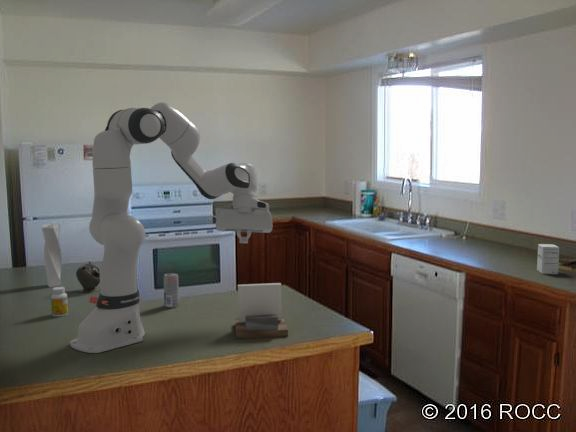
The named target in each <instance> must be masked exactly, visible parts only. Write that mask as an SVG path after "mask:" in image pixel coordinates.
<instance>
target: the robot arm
mask: <svg viewBox="0 0 576 432" xmlns="http://www.w3.org/2000/svg"><path fill="white" fill-rule="evenodd" d="M106 123H107V125H106V127H105V129H104V130H103V131H101V132H99V133H97V134H96V135H95V137H94V139H93V144H92V176H93V190H94V192H93V193H94V194H93V195H94V196H93V205H92V206H93V208H92V214H91V215H92V216H91V220H90V222H89V225H88V228H89V229H88V230H89V233H90V236H91V237H92V238H93V239H94V241H96V242H97V243H98V244H100V245H102V246H103V251H104V252H103V257H102V258H103V259H102V263H101V265H100V266H99V270H100V283H99V288H100V289H99V290H100V293H99V295H98V297H96V296H93V295H91V296H89V299H88V302H89V303H90V304H94V305H95V306H96V307H94V308H93V310H92V311H91V312H90V313H89V314H88V315H87V316H86V317H85V318H84V319H83V320H82V321H81V322H80V323H79V326H78V328H77V329H78V331H77V337H76V338H74V339H72V340H70V341H69V346H70V347H71V348H73V349H74V350H77V351H79V352H83V353H89V354H99V353H103V352H107V351H110V350H115V349H118V348H121V347H125V346H129V345H133V344H136V343H140V342H143V341H144V338H143V337H144V336H145V334H146V331H145V330H144V326H143V323H142V318H141V312H140V305H139V304H140V301H141V300H140V291H139V289H138V262H139V261H138V260H139V255H140V249H141V246H142V245H143V243H144V241H145V238H146V229H145V227H144V225H143V224H142V223H141V222H140V220H139V219H137V218H135V217H134V216H133V215H129V214H128V209H129V202H130V198H131V196H132V194H133V182H132V181H133V180H132V179H133V178H132V164H131V158H130V157H131V151H132V147H133V146H134V145H143V144H151V143H154V142H155V141H157V140H158V139H160V140H161V141H162V142H163V143H164V144H165V145H166V146H167V147H168V148H169V149H170V151H171V157H172V159H173V161H174V162H175V164H176V165H177V166H178V167H179V168H180V169H181V170H182V172H183V173H185V175H186V177H188V178H189V179H190V181H192V183H193V184H194V185H195V187H196V188H197V190H198V192H199V194H201V196H203V197H204V198H206V199H208V200H215V199H217V198H219V197H221V196H224V195H225V194H229V193H232V194H233V195H232V205H220V206H218V207H216V208H215V210H214V211H215V212H214V214H215V217H216V218H215V219H216V220H215V229H216V231H218V232H236V236H237V237H238V239H239V244H248V243H249V238H250V237H251V235H252V233H262V234H263V233H264V234H265V233H267V234H270V233H271V232H272V231H273V225H274V224H273V217H272V216H273V215H272V213H271V212H270V211H269V210H270V204H269V203H267V202H264V201H261V200H258V198H257V191H258V175H257V171H256V168H255V167H254V166H253V164H250V163H248V162H241V163H240V162H239V163H235V162H229V163H225V164H224V165H221V166H219V167H216V168H214V169H212V170H205V169H204V168H203V167H202V166H201V164H199V162H198V161H197V160H196V159H195V158H194V156H193V155H194V154H195V152H196V151H197V149H198V147H199V145H200V141H201V133H200V130H199V129H198V127H197V125H195V124H194V122H192V121H191V120H190V119H189V118H188V117H187V116H186V115H185V114H183V113H182V112H181V111H180V110H179V109H177V108H175V107H174V106H172V105H170V104H169V103H167V102H163V101H162V102H157V103H156V104H154V105H153V106H151V107H150V108H148V107H139V108H138V107H130V108H126V109H119V110H117V111H115V112H114V113H112V115H110V117H109V119H108V120H107V122H106ZM241 233H246V236H242V234H241Z"/></svg>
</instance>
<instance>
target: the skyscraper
mask: <svg viewBox="0 0 576 432" xmlns="http://www.w3.org/2000/svg"><path fill="white" fill-rule="evenodd" d="M55 224H58V226H57V225H55ZM60 231H61V224H60V223H59V222H58V221H52V222H51V223H50V224H44V225H42V226H41V232H42V235H43V239H44V246H43V247H44V248H43V251H44V252H43V256H44V257H43V258H44V268H45V273H46V278H47V283H46V285H47V286H48V287H49V288H55V287H63V283H62V280H61V278H62V277H61V276H62V265H63V263H62V261H63V259H62V258H63V256H62V250H61V245H60V242H59V239H60V238H59V237H60V233H61V232H60Z"/></svg>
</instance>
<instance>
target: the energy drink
mask: <svg viewBox="0 0 576 432" xmlns="http://www.w3.org/2000/svg"><path fill="white" fill-rule="evenodd" d="M179 289H180V288H179V274H178V273H176V272H169V273H164V274H163V295H164V296H163V297H164V306H165V308H168V309H169V308H170V309H171V308H173V309H174V308H178V307H179V306H180V293H179V292H180V291H179Z"/></svg>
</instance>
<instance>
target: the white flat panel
mask: <svg viewBox="0 0 576 432" xmlns="http://www.w3.org/2000/svg"><path fill="white" fill-rule="evenodd" d="M237 303H238V304H237V308H238V309H237V310H238V314H237V315H238V320H239V322H245V315H267V314H277V316H278V321H279V320H282V316H283V313H282V311H283V309H282V308H283V307H282V305H283V304H282V303H283V302H282V283H281V282H272V283H271V282H270V283H248V284H247V283H246V284H245V283H243V284H237Z"/></svg>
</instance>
